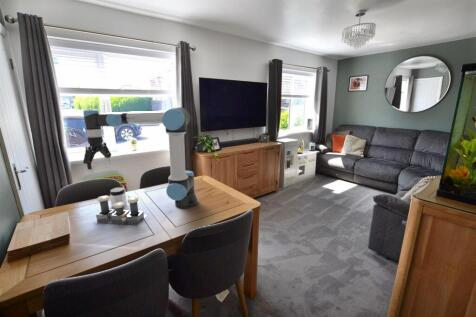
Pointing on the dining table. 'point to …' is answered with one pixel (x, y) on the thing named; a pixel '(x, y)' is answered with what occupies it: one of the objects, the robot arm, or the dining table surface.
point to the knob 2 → (133, 205)
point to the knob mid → (119, 208)
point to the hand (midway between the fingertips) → (100, 170)
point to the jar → (117, 196)
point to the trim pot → (123, 218)
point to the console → (119, 218)
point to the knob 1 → (104, 204)
